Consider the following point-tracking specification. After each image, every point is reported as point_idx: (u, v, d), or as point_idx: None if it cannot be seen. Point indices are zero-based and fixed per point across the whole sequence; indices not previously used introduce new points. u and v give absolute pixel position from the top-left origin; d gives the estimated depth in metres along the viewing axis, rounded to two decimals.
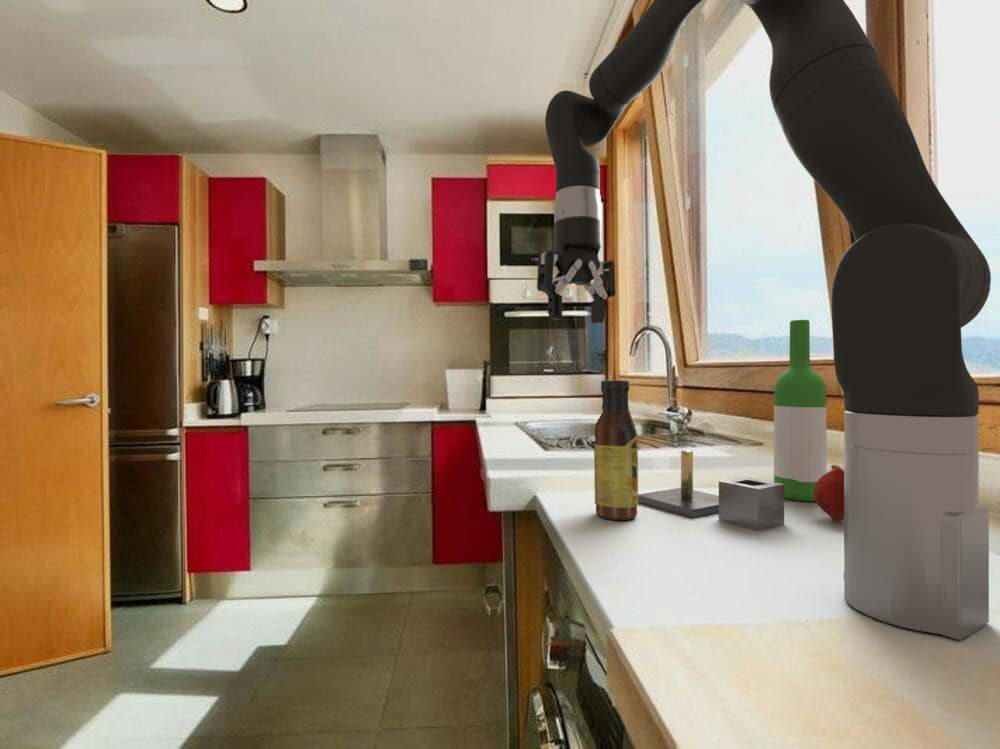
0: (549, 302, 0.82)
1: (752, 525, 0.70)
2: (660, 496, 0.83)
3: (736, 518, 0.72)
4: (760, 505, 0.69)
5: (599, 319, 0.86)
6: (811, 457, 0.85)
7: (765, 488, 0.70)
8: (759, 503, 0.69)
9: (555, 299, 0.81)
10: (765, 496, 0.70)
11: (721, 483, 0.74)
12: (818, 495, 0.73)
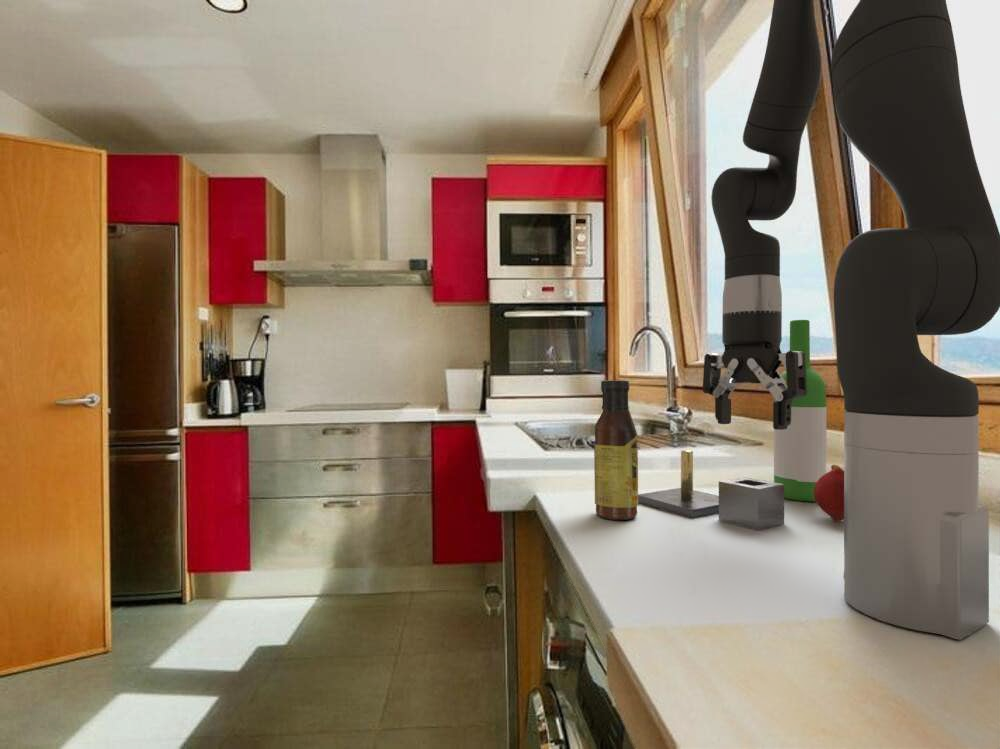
0: (786, 409, 0.69)
1: (752, 525, 0.70)
2: (660, 496, 0.83)
3: (736, 518, 0.72)
4: (760, 505, 0.69)
5: (729, 420, 0.77)
6: (811, 457, 0.85)
7: (765, 488, 0.70)
8: (759, 503, 0.69)
9: None
10: (765, 496, 0.70)
11: (721, 483, 0.74)
12: (818, 495, 0.74)
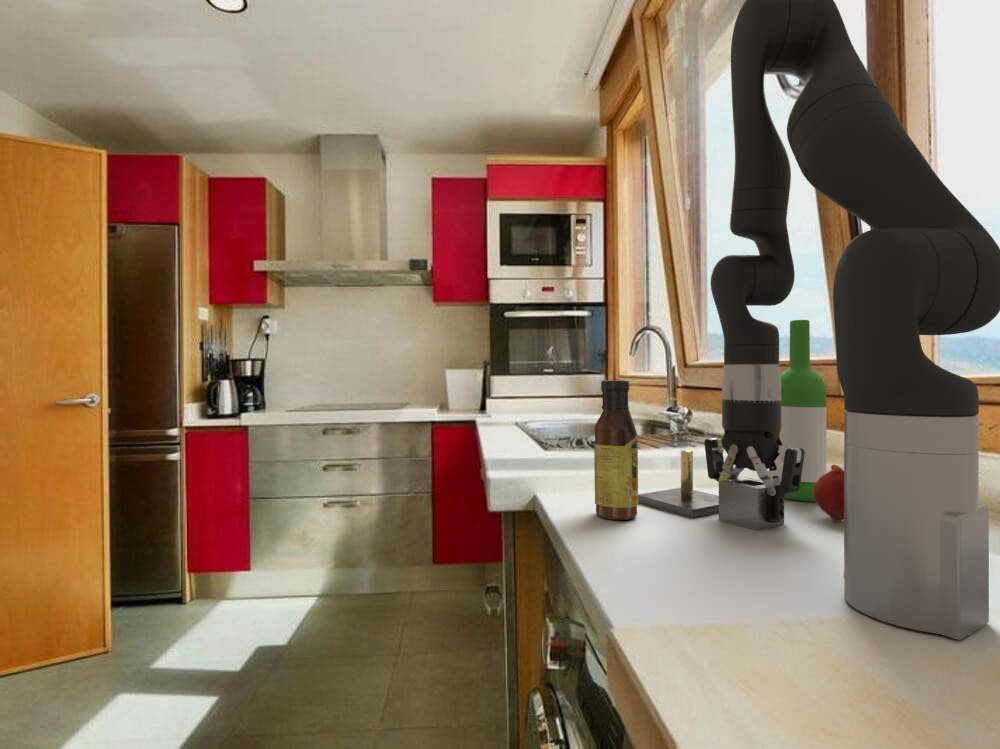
0: (779, 504, 0.69)
1: (752, 525, 0.70)
2: (660, 496, 0.83)
3: (736, 518, 0.72)
4: (760, 505, 0.69)
5: None
6: (811, 457, 0.85)
7: (765, 488, 0.70)
8: (759, 503, 0.69)
9: None
10: (765, 496, 0.70)
11: (721, 483, 0.74)
12: (818, 495, 0.74)
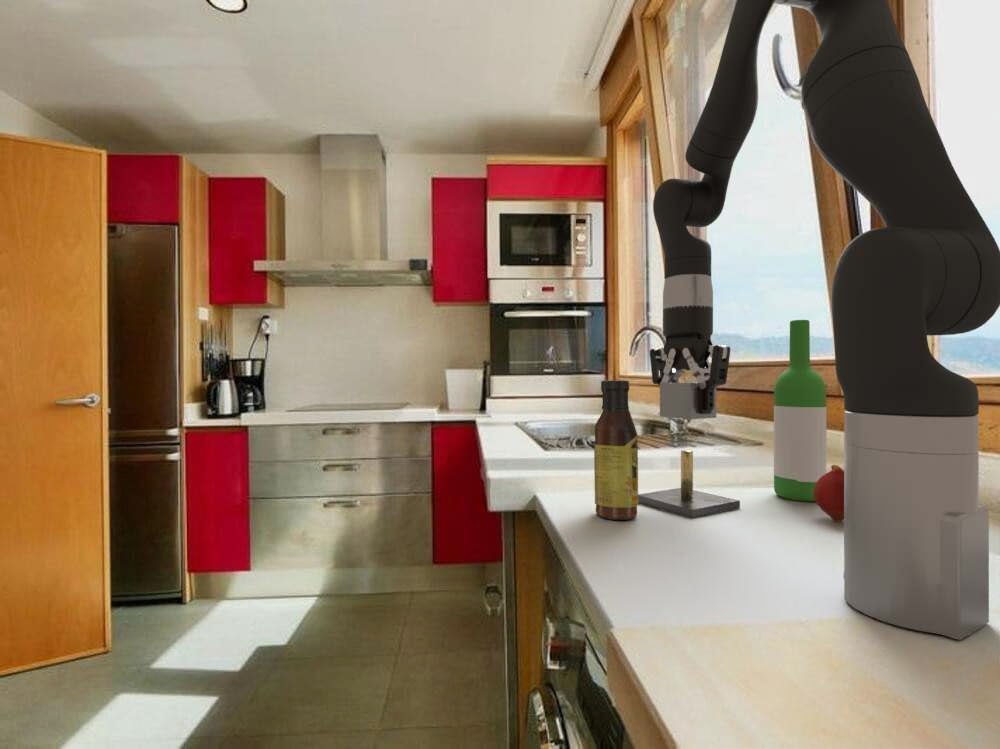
0: (709, 396, 0.79)
1: (686, 415, 0.79)
2: (660, 496, 0.83)
3: (673, 412, 0.81)
4: (692, 397, 0.79)
5: None
6: (811, 457, 0.85)
7: (697, 383, 0.80)
8: (692, 395, 0.79)
9: None
10: (697, 390, 0.80)
11: (662, 383, 0.83)
12: (818, 495, 0.73)
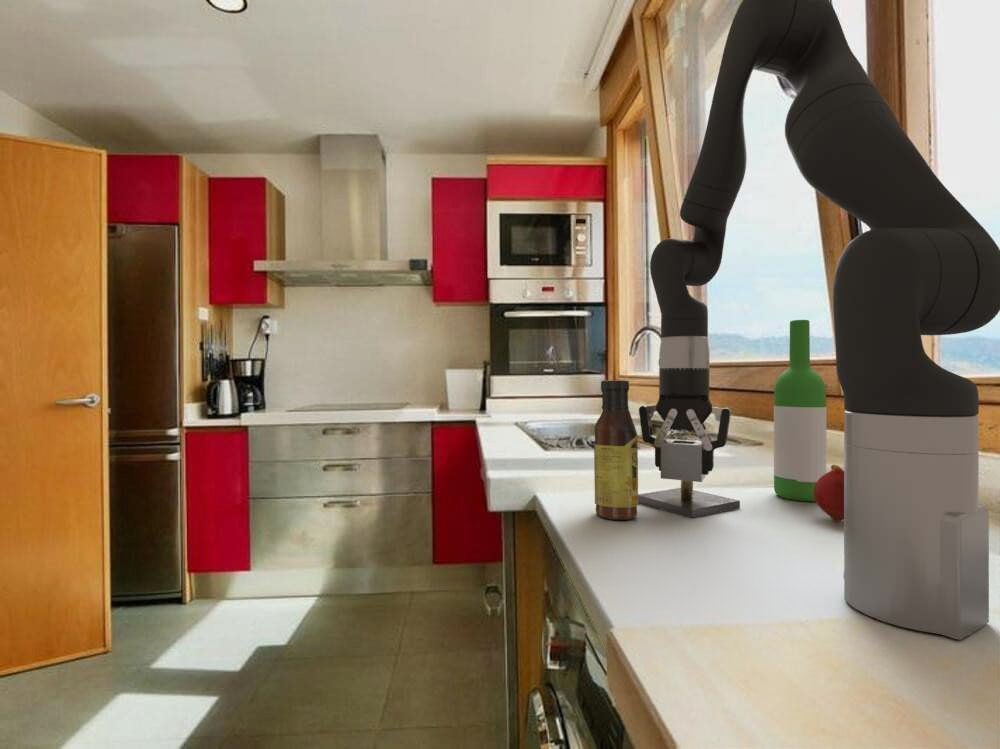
0: (712, 457, 0.80)
1: (695, 478, 0.79)
2: (660, 496, 0.83)
3: (679, 474, 0.80)
4: (701, 460, 0.79)
5: None
6: (811, 457, 0.85)
7: (702, 445, 0.80)
8: (701, 458, 0.79)
9: None
10: None
11: (663, 444, 0.81)
12: (818, 495, 0.74)
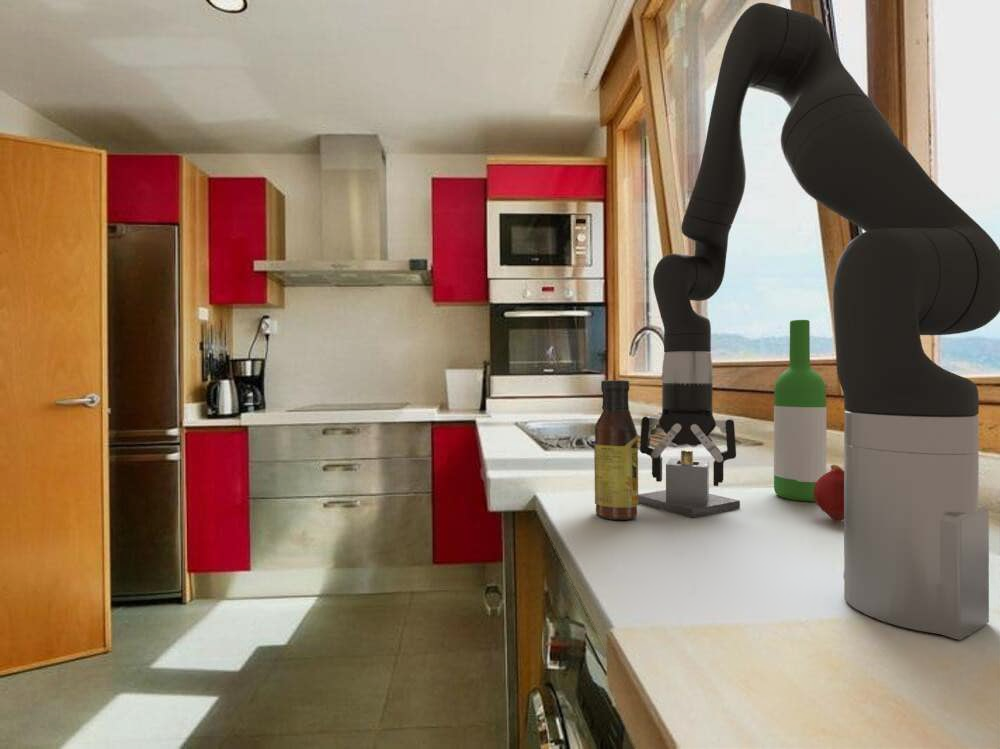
0: None
1: (701, 500, 0.79)
2: (660, 496, 0.83)
3: (685, 496, 0.80)
4: (707, 482, 0.79)
5: (661, 477, 0.85)
6: (811, 457, 0.85)
7: (707, 466, 0.80)
8: (707, 479, 0.79)
9: None
10: None
11: (668, 466, 0.81)
12: (818, 496, 0.74)
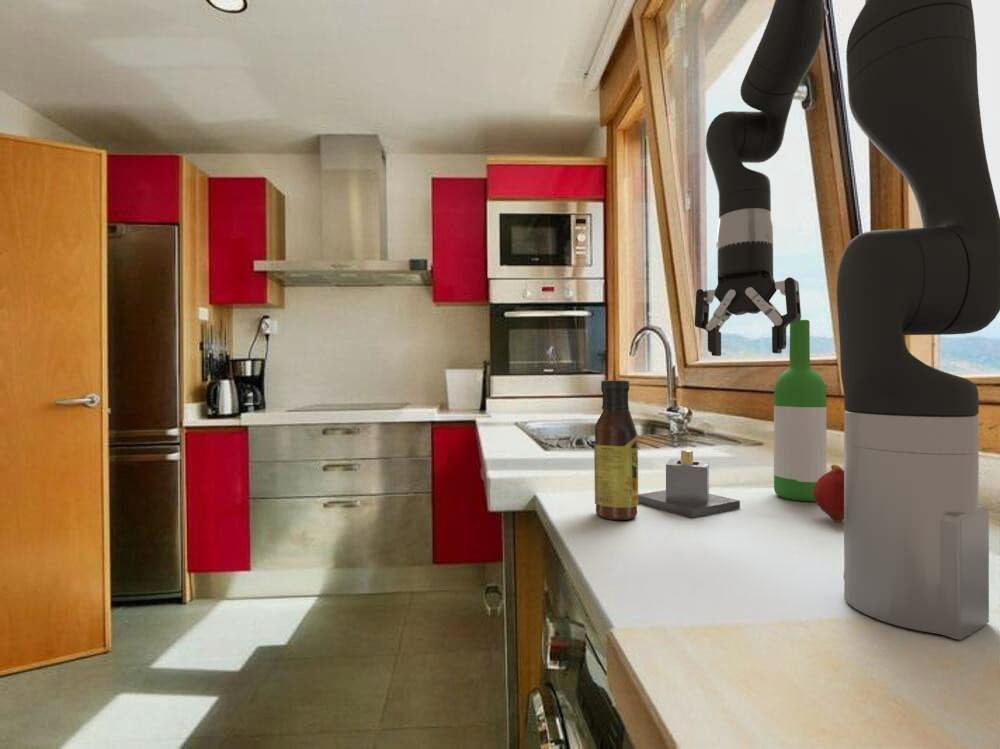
0: (784, 333, 0.73)
1: (701, 500, 0.79)
2: (660, 496, 0.83)
3: (685, 496, 0.80)
4: (707, 482, 0.79)
5: (720, 352, 0.81)
6: (811, 457, 0.85)
7: (707, 466, 0.80)
8: (707, 479, 0.79)
9: None
10: None
11: (668, 466, 0.81)
12: (818, 495, 0.74)
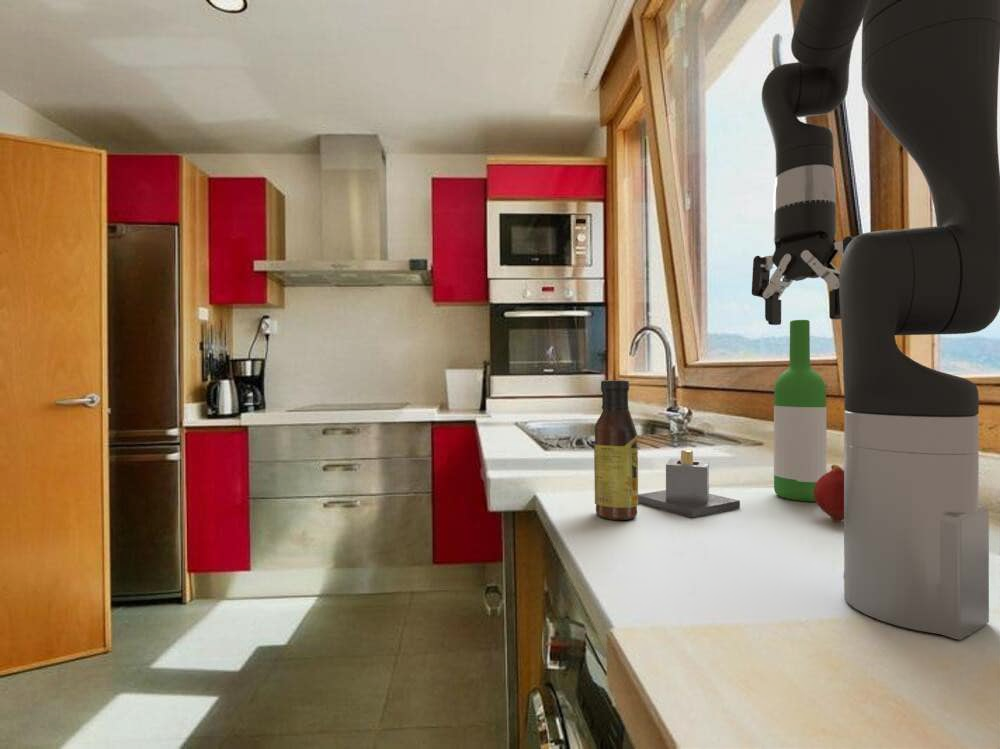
0: None
1: (701, 500, 0.79)
2: (660, 496, 0.83)
3: (685, 496, 0.80)
4: (707, 482, 0.79)
5: (780, 321, 0.77)
6: (811, 457, 0.85)
7: (707, 466, 0.80)
8: (707, 479, 0.79)
9: None
10: None
11: (668, 466, 0.81)
12: (818, 495, 0.74)
